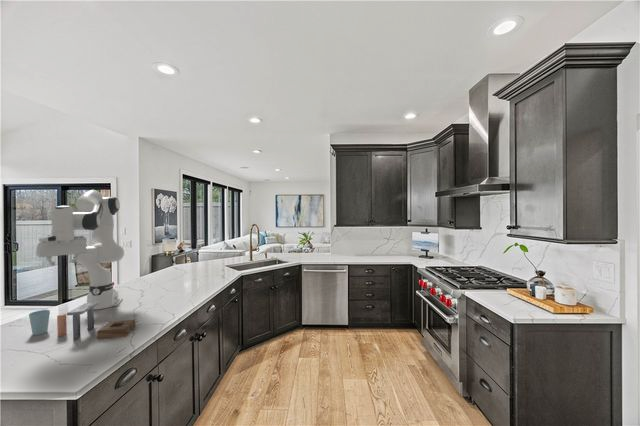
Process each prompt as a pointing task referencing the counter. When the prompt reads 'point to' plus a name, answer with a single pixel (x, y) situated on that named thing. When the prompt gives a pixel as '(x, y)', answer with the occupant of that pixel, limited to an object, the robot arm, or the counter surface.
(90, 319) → the grey u-shaped bracket
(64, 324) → the peg
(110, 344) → the counter surface
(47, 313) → the cup
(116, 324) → the socket
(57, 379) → the counter surface
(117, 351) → the counter surface
